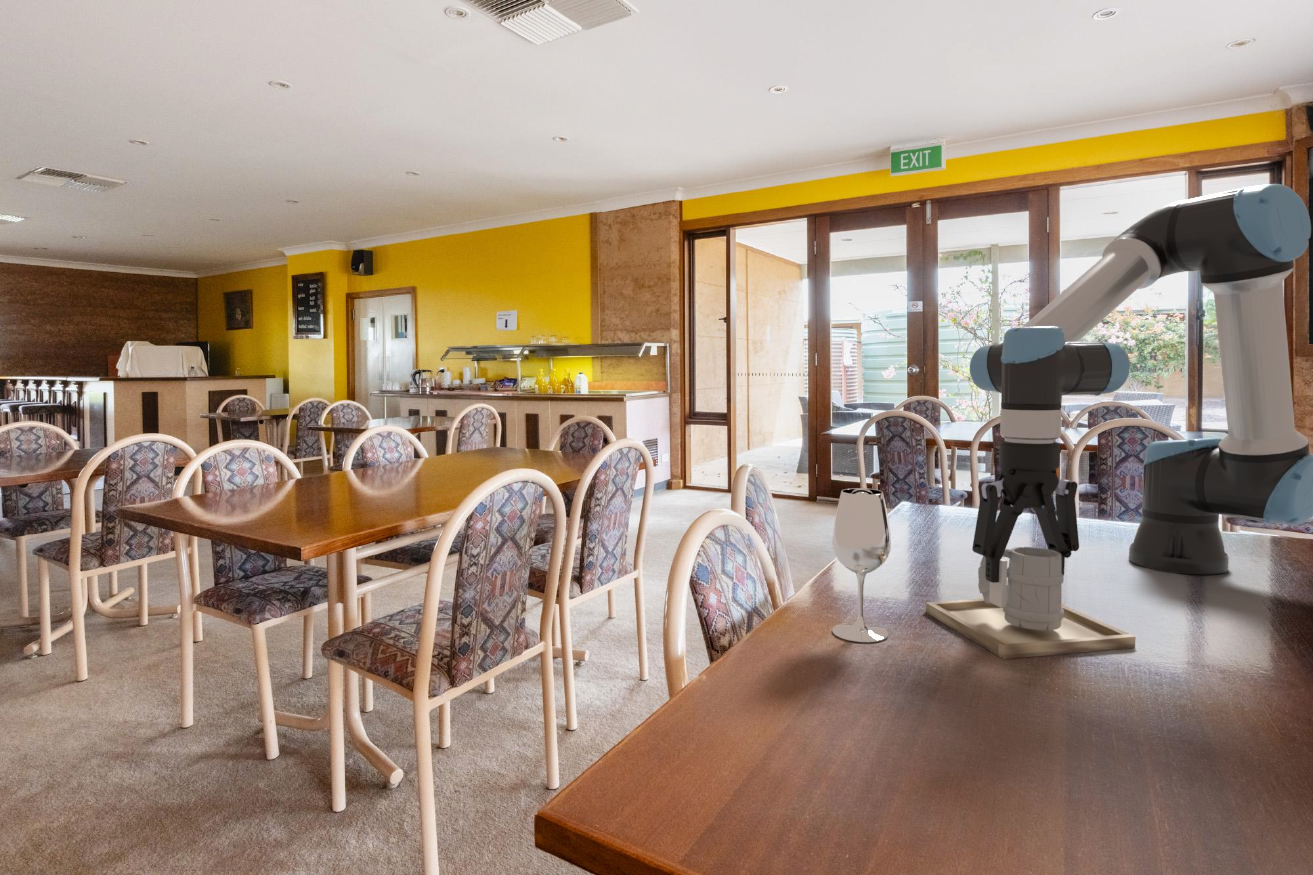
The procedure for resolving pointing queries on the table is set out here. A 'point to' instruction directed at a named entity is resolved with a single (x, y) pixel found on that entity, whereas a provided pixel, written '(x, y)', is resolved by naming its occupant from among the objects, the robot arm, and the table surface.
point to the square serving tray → (1027, 631)
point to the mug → (1030, 587)
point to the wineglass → (861, 550)
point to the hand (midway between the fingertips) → (1023, 602)
